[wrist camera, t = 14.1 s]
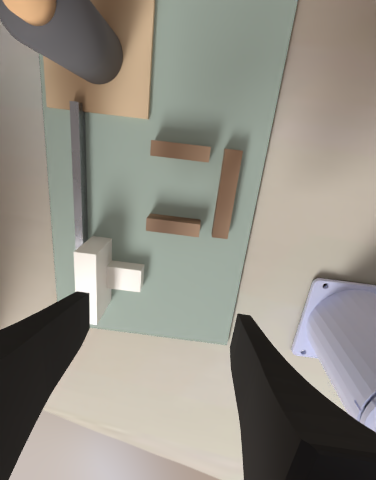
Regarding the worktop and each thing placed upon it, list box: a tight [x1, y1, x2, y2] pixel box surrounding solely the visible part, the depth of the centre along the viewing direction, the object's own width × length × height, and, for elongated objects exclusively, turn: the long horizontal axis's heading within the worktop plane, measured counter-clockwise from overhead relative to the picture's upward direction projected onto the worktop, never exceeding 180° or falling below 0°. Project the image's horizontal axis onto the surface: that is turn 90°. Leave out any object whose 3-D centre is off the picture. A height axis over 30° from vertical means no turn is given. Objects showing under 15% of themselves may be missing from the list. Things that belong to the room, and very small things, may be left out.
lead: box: [0, 0, 123, 84], centre depth 13 cm, size 3×3×7 cm
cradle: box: [146, 140, 243, 239], centre depth 19 cm, size 6×6×1 cm
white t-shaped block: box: [73, 236, 145, 325], centre depth 21 cm, size 4×6×3 cm
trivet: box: [43, 0, 155, 119], centre depth 17 cm, size 7×7×1 cm
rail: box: [69, 101, 88, 249], centre depth 20 cm, size 1×16×1 cm, turn 174°
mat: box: [39, 0, 298, 345], centre depth 20 cm, size 16×26×1 cm, turn 174°
